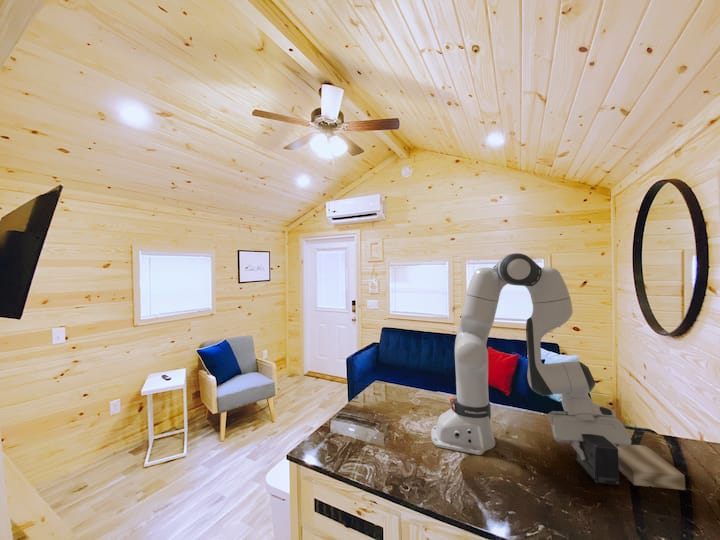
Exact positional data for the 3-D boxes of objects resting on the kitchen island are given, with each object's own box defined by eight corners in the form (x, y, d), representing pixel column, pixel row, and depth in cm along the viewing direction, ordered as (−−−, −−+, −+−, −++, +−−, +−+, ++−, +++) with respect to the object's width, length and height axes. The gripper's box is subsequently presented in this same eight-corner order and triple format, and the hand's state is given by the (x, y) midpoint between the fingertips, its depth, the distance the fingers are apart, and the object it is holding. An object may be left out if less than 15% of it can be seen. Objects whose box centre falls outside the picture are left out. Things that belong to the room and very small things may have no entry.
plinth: (634, 485, 83) (633, 470, 83) (604, 454, 96) (603, 442, 96) (685, 490, 80) (684, 475, 80) (646, 458, 94) (646, 445, 94)
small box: (622, 486, 82) (620, 448, 82) (596, 484, 83) (593, 447, 84) (599, 462, 93) (597, 428, 93) (576, 460, 94) (574, 427, 94)
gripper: (548, 406, 96) (563, 455, 86) (620, 410, 92) (645, 461, 82) (543, 414, 100) (557, 460, 91) (612, 418, 96) (634, 467, 87)
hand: (599, 461), depth 86 cm, fingers closed on small box, 6 cm apart
